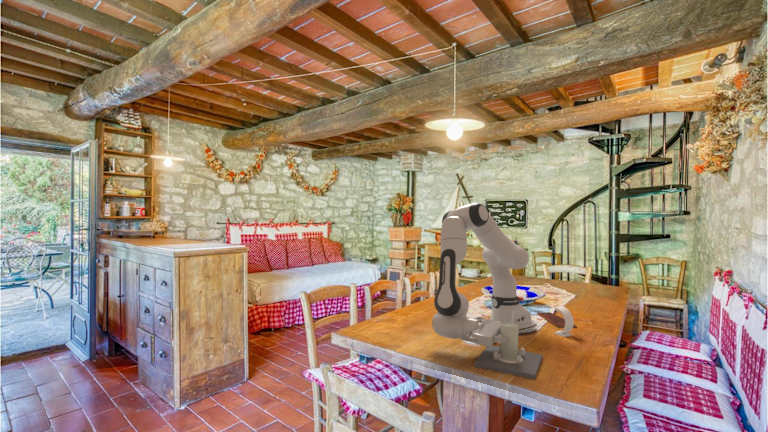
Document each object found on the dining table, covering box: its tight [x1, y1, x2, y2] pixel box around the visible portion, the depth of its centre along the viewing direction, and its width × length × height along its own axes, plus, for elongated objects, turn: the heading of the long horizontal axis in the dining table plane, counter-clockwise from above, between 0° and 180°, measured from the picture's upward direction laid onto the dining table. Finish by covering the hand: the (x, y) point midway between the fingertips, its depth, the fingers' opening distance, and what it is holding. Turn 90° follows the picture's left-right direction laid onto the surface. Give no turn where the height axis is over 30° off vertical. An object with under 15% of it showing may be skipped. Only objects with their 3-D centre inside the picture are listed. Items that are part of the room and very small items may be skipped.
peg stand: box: [474, 343, 543, 380], centre depth 133 cm, size 20×20×4 cm
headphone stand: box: [554, 305, 575, 338], centre depth 163 cm, size 5×6×12 cm
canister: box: [500, 323, 519, 361], centre depth 133 cm, size 6×6×12 cm
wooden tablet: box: [536, 311, 578, 329], centre depth 186 cm, size 27×10×2 cm, turn 0°
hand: (510, 336), depth 132 cm, fingers open, 8 cm apart
